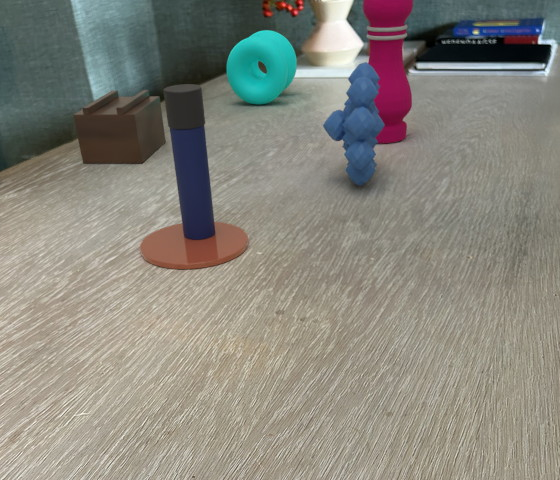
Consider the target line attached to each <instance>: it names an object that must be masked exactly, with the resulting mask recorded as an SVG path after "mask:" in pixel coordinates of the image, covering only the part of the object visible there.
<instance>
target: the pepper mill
mask: <svg viewBox="0 0 560 480" xmlns="http://www.w3.org/2000/svg"><path fill="white" fill-rule="evenodd" d="M413 7H414V0H363V3H362V10H363V14H364V17H366V19H367V20H368V22H369V25H367V26H366V33H367V34H366V38H367V40H369V55H368V62H367V63H368V64H370V65H371V66H372V67H373V68H374V70H375V71H376V73H377V75H378V76H379V78H380V79H379V81H378V82H377V83H378V84H379V86H380V88H379V89H378V92H379V93H378V95H377V96H376V98H375V99H374V100H373V101H374V102H375V106H376V107H377V109H378V111H379V113H378V115H379V116H380V118H381V119H382V121H383V123H384V124H385V126H384V127H383V129H382V130H381V132H380V133H379V134H378V135H377V137H376V139H377V141H378V143H377V144H394V143H398V142H401V141H404V140H405V139H406V138H407V131H408V124H407V122H406V121H405V120H404V119H405V117H406V116H407V115H408V114H409V113H410V112H411V109H412V108H413V107H412V106H413V97H412V96H413V94H412V90H411V89H412V88H411V86H410V83H409V80H408V77H407V74H406V73H407V72H406V69H405V64H404V58H403V57H404V55H403V48H404V41H405V38H406V37H408V33H407V29H408V25H407V24H406V23H405V22H406V20H407V19H408V17H410V15H411V13H412V11H413Z"/></svg>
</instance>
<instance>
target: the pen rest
mask: <svg viewBox="0 0 560 480" xmlns="http://www.w3.org/2000/svg"><path fill="white" fill-rule="evenodd" d="M72 117H73V121H74V127H75V130H76V136H77V140H78V145H79V150H80V155H81V160H82V163H83V164H140V165H141V164H142V165H143V163H144V162H146V160H148V159H149V158H150V157H151V156H152V155H153V154H154V153H155V152H157V150H159V149H160V148H161V147H162V146H163V145H164V144H165V143H166V142H167V141H166V135H165V126H164V120H163V118H164V117H163V112H162V104H161V98H160V96H159V95H157V96H155V95H154V96H153V95H152V96H150V91H149V89H143V90H141V91H140V92H138V93H137V94H135V95H134V96H119V91H118V90H111V91H108V92H107V93H106V94H104V95H102V96H101V97H98V98H97V99H95V100H94V101H92V102H90V103H89V104H86V105H85V106H83V107H82V109H80V110H79V111H77V112H76V113H74V114H73V115H72Z"/></svg>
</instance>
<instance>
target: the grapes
mask: <svg viewBox="0 0 560 480" xmlns="http://www.w3.org/2000/svg"><path fill="white" fill-rule="evenodd" d="M379 79H380V78H379V76H378V75H377V73H376V71H375V70H374V68H373V67H372V66H371V65H370V64H368V62H367V61H365V62H362V63H359V64H358V65H357V66H356V67H355V68H354V70H353V71H352V72H351V73H350V75H349V77H348V78H347V80H348V81H349V84H350V85H349V88H348V89H347V90H346V92H345V94H346V96H347V97H348V98H347V99H346V101H344V103H343V105H344V108H343V110H342V109H336V110H334V111H332V113H330V115H329V116H328V117H327V118H326V120H325V121H324V123H323V124H322V127H323V128H324V131H325V132H326V133H327V135H328V136H329V137H330V138H331V140H333V141H334V142H340V141H343V145H342V148H343V149H344V151H345V152H344V153H343V155H344V157H345V159H346V160H347V163H346V168H344V171H345V173H346V175H347V176H348V178H349V179H350V180H351V181H352V183H353V184H354V185H357V186H364V185H365V184H366V183H367V182H369V181H370V179H371V178H372V177H373V175H374V174H375V173H376V171H377V169H376V167H377V165H378V164H377V162H376V161H375V159H374V158H376V155H377V153H376V152H375V151H376V150H374V148H375V147H376V146H377V144H379V143H378V141H377V139H376V137H377V135H378V134H379V133H380V132H381V130H382V129H383V127H384V126H385V124H384V123H383V121H382V119H381V118H380V116H379V115H378V113H379V111H378V109H377V107H376V106H375V102H374V101H373V100H374V99H375V98H376V96H377V95H378V93H379V92H378V89H379V88H380V86H379V84H378V83H377V82H378V81H379Z"/></svg>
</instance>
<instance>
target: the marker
mask: <svg viewBox="0 0 560 480" xmlns="http://www.w3.org/2000/svg"><path fill="white" fill-rule="evenodd" d="M163 97H164V105H165V112H166V120H167V125H168V126H167V127H169V134H170V142H171V148H172V149H171V150H172V156H173V164H174V170H175V171H174V172H175V179H176V187H177V193H178V195H177V196H178V202H179V209H180V215H181V216H180V218H181V223H182V225H183V233H184V236H185V237H186V238H188V239H192V240H201V239H207V238H210V237H212V236H213V235H214V234H215V224H214V222H215V214H214V207H213V196H212V186H211V178H210V176H211V175H210V168H209V167H210V166H209V157H208V156H209V155H208V148H207V147H208V146H207V137H206V127H205V124H206V117H205V108H204V107H205V106H204V98H203V97H204V96H203V87H202V86H201V85H199V84H194V83H183V84H182V83H181V84H175V85H174V84H173V85H170V86H167V87H165V88H163Z"/></svg>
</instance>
